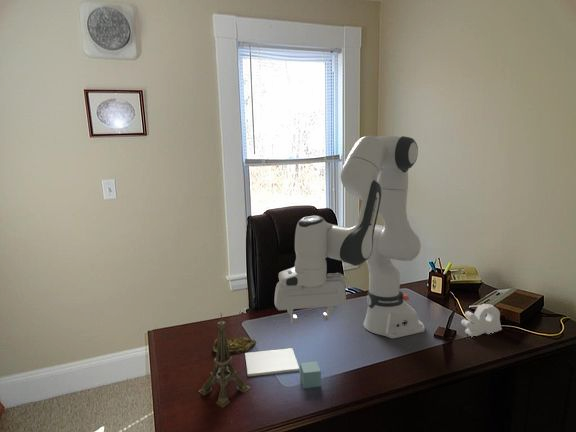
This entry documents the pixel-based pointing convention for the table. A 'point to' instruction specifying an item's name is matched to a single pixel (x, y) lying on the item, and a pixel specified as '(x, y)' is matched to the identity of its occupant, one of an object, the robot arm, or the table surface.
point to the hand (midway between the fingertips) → (310, 320)
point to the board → (271, 362)
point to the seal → (237, 345)
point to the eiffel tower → (223, 370)
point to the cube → (310, 374)
